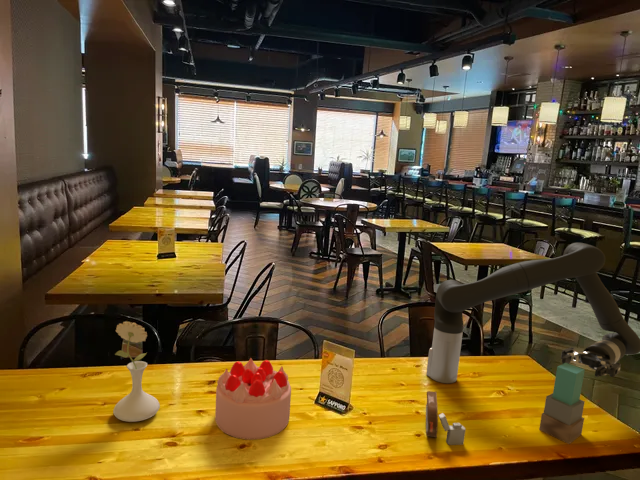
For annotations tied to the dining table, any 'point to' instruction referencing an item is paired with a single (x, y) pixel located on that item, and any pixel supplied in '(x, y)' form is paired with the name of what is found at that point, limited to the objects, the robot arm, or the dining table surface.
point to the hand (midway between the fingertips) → (580, 367)
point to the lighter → (453, 431)
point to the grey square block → (563, 410)
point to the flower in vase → (135, 380)
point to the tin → (431, 414)
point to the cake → (252, 400)
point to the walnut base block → (561, 428)
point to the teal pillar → (568, 383)
